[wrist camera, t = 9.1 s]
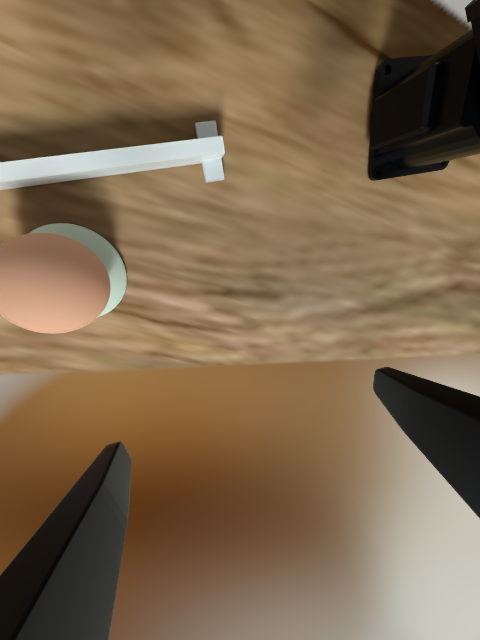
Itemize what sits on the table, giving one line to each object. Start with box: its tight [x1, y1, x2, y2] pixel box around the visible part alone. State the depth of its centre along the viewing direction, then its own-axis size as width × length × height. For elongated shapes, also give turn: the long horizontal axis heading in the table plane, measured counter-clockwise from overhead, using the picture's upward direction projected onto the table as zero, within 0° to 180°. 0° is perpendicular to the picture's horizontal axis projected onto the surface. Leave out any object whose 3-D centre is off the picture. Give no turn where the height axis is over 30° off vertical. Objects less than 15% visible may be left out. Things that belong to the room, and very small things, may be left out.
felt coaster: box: [30, 223, 127, 317], centre depth 16 cm, size 6×6×1 cm
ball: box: [0, 233, 111, 333], centre depth 13 cm, size 6×6×6 cm
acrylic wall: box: [0, 120, 225, 190], centre depth 13 cm, size 16×3×2 cm, turn 99°
